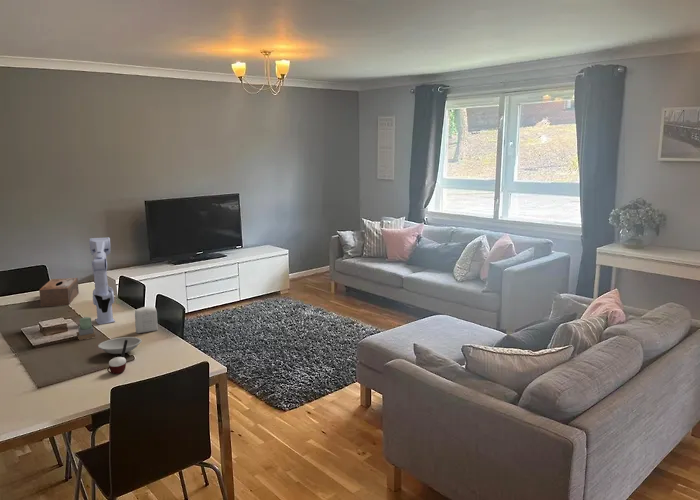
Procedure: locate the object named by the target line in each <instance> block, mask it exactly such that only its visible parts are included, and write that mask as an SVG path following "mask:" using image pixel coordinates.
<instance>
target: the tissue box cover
mask: <svg viewBox="0 0 700 500" xmlns="http://www.w3.org/2000/svg"><path fill="white" fill-rule="evenodd" d="M38 292H39V301H40V307H52V306H53V307H57V306H69V305H71V303H72V302H73V301H74V299H76V297H77V296H78V295H79V294H80V291H79V281H78V277H70V278H69V277H67V278H53V279H52V278H51V279H50V280H49V281H47V282H46V283H45V284H44V285H42V286H41V288H39V291H38Z"/></svg>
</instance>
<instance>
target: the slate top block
mask: <svg viewBox="0 0 700 500" xmlns="http://www.w3.org/2000/svg"><path fill="white" fill-rule="evenodd" d="M77 328H78V331H77V332H79V335H80V336H81V335H88V334H94V333H95V330H94V326H93V325H92V328H90V329H86V330H82V329H80V326H78V327H77Z"/></svg>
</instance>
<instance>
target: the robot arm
mask: <svg viewBox="0 0 700 500" xmlns="http://www.w3.org/2000/svg"><path fill="white" fill-rule="evenodd" d="M88 244H89V245H88V246H89V250H90V254H91V256H92V257H93V258H92V261H91V268H92V273H93V278H94V279H93V282H94V289H93V290H92V304H93V305H94V306H95V308H96V318H95V321H96V323H97V325H104V324H111V323H114V322H116V320H115V319H114V317H113V304H114V303H115V292H114V289H113V287H110V285H109V284H108V283H109V282H108V272H107V271H108V260H107V256H109V255H111V238H110V237H109V236H107V237H93V238H92V237H90V238H89V239H88Z"/></svg>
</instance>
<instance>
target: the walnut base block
mask: <svg viewBox="0 0 700 500" xmlns="http://www.w3.org/2000/svg"><path fill="white" fill-rule="evenodd" d="M77 336H78V338H77V340H78V339H79V340H80V341H84V340H83V339H86V340H88V339H87V338H92V337H95V338H96V333H95V332H94V334H88V335H81V336H80V335H79V331H76V337H77ZM92 339H93V338H92ZM79 340H78V341H79Z"/></svg>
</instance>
